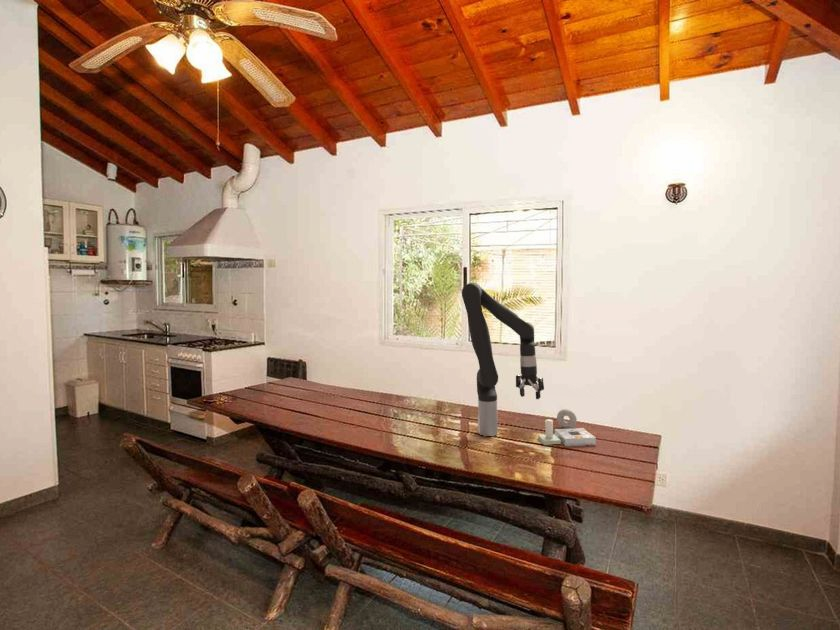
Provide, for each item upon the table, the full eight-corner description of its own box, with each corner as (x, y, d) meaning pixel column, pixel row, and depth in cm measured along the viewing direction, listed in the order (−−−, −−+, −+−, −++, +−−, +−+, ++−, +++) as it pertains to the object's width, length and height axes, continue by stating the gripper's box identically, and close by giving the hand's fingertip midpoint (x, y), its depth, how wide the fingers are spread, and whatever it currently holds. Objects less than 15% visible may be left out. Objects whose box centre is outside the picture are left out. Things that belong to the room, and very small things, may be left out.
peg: (546, 438, 209) (546, 421, 209) (544, 436, 213) (544, 419, 212) (554, 438, 210) (553, 421, 209) (551, 436, 213) (551, 419, 212)
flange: (565, 446, 205) (565, 438, 204) (554, 436, 218) (554, 428, 218) (595, 445, 205) (595, 437, 205) (583, 435, 219) (583, 427, 219)
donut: (555, 427, 232) (555, 408, 231) (558, 425, 234) (558, 406, 234) (575, 431, 225) (575, 411, 225) (577, 429, 228) (577, 409, 228)
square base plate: (544, 445, 207) (544, 440, 207) (538, 438, 216) (538, 434, 215) (560, 444, 207) (560, 440, 207) (553, 438, 216) (553, 433, 216)
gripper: (511, 364, 219) (513, 397, 220) (536, 367, 208) (538, 401, 209) (520, 361, 224) (522, 393, 225) (545, 364, 213) (547, 398, 214)
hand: (530, 397), depth 217 cm, fingers open, 8 cm apart
